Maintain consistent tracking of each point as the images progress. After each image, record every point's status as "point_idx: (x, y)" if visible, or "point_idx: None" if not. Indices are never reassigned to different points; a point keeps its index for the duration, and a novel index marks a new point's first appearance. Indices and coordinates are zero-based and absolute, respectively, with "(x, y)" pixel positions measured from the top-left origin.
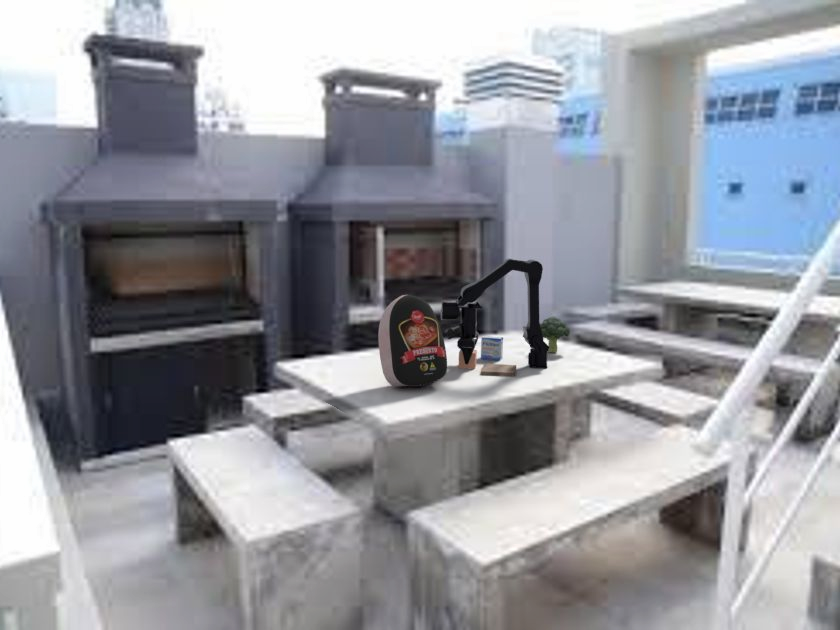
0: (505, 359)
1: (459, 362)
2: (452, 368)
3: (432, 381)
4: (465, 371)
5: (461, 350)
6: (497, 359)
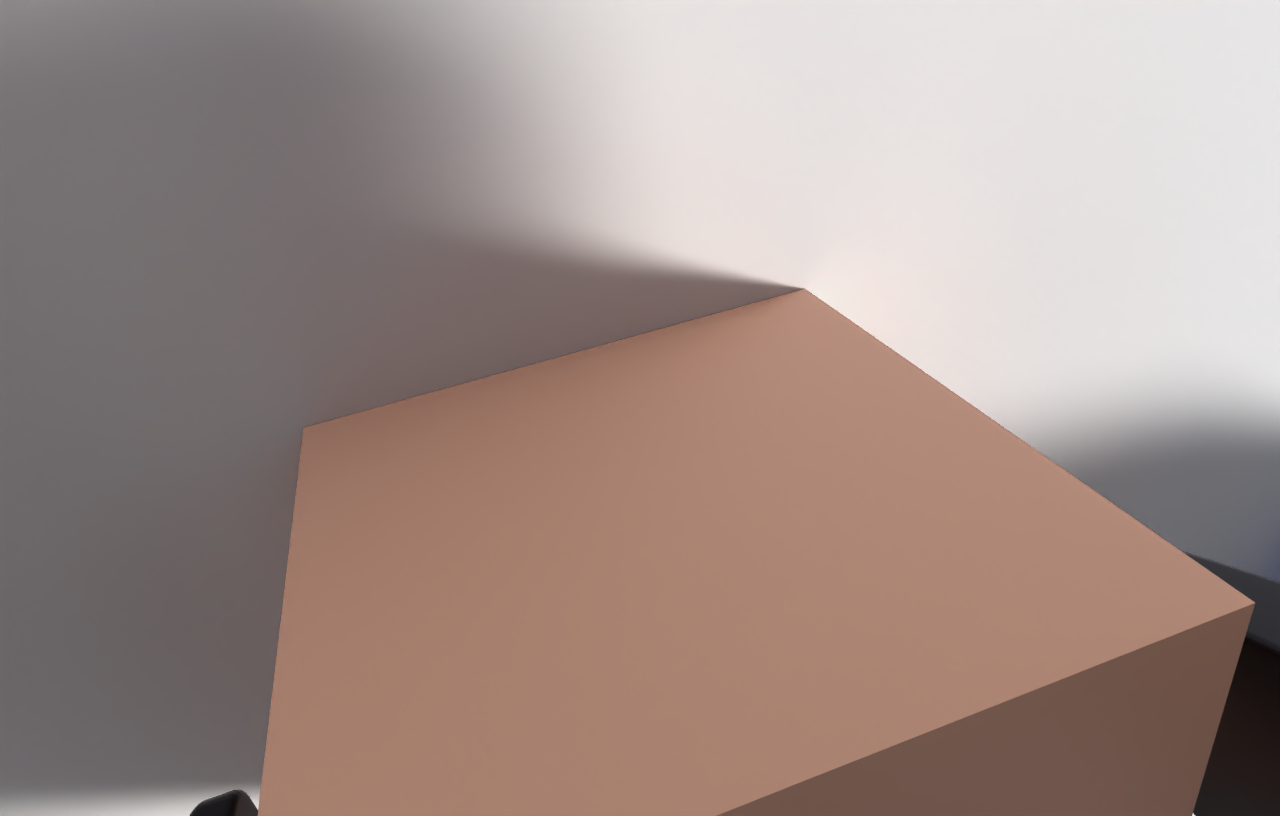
0: None
1: (303, 567)
2: (119, 259)
3: None
4: (11, 749)
5: (904, 802)
6: None
